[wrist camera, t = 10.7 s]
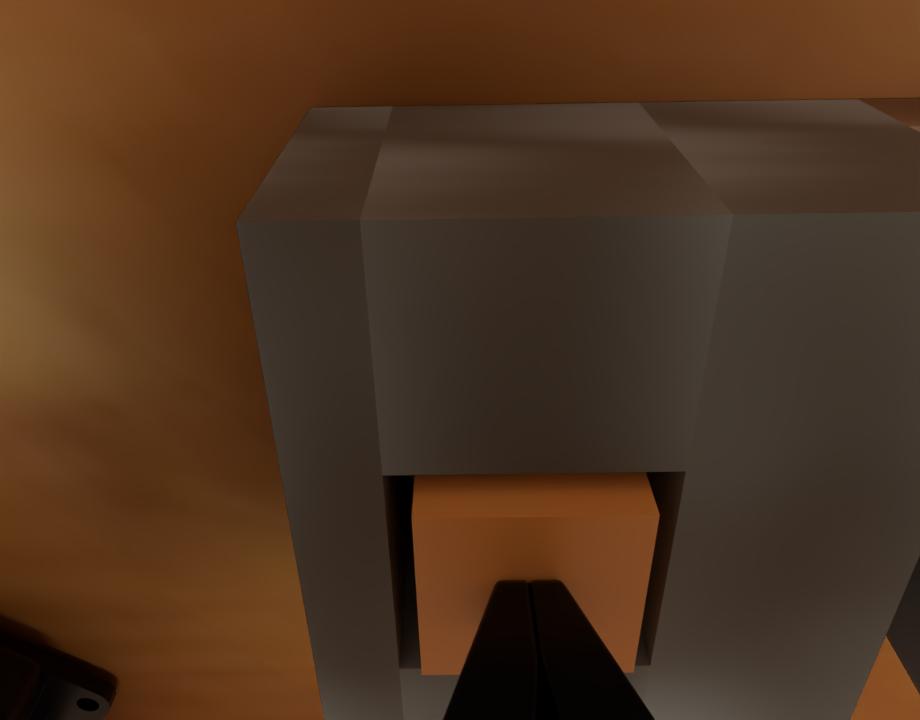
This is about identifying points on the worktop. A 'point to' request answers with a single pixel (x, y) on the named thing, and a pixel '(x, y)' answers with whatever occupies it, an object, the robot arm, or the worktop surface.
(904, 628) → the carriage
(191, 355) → the worktop surface
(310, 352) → the rail
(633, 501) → the button
